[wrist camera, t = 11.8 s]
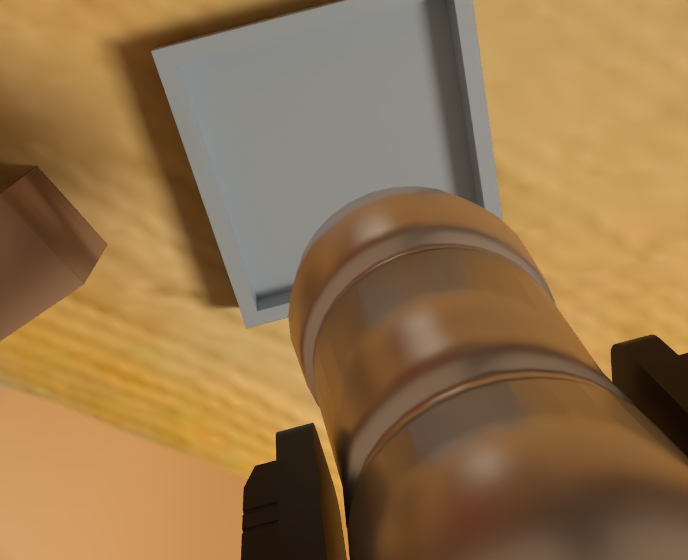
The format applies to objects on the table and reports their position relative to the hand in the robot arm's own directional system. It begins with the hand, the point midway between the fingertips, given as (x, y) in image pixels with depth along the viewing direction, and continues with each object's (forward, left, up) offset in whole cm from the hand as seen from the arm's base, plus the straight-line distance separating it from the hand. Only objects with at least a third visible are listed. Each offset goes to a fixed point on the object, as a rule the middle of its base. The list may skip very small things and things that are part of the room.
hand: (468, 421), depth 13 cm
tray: (0, 0, -22) cm, 22 cm away
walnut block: (0, -16, -23) cm, 28 cm away
